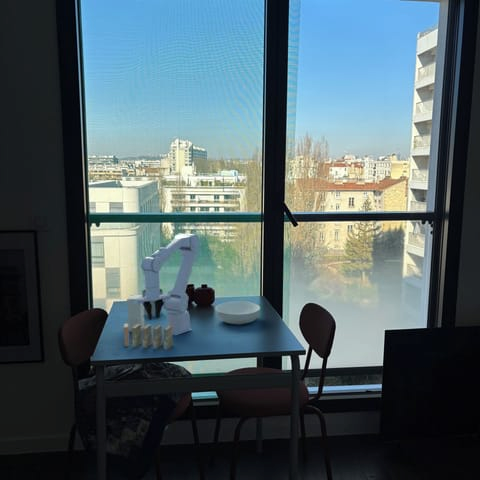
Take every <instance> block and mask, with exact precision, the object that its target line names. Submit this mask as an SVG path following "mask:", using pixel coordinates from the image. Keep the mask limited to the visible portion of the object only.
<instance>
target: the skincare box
mask: <svg viewBox="0 0 480 480" xmlns="http://www.w3.org/2000/svg"><path fill="white" fill-rule="evenodd" d="M141 297H143V295H142V294H136V295H135V294H133V295H130V296H128V298H127V299H126V306H127V309H126V310H127V320H128V327H129V333H130V332H131V333H132V327H134V326H135V325H136V324H141V332H142V328H144V327H145V326H146V324H145V315H144V306H143V303H140V304H137V305H136V304H135V299H137V298H141Z"/></svg>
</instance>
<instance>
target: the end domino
mask: <svg viewBox="0 0 480 480" xmlns="http://www.w3.org/2000/svg"><path fill="white" fill-rule="evenodd" d="M123 337H124V347H129V346H130V331H129V323H124V324H123Z"/></svg>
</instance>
